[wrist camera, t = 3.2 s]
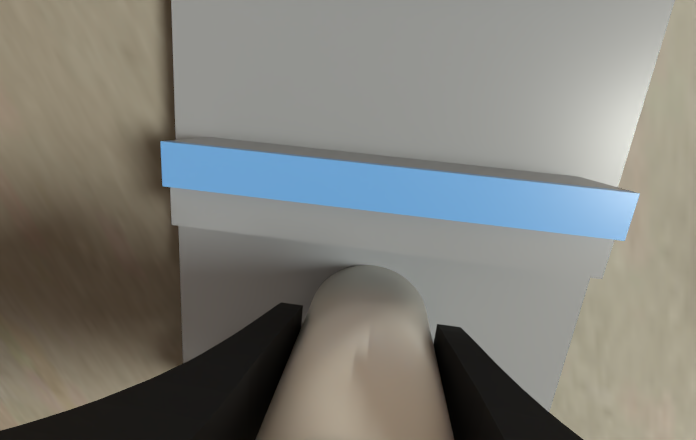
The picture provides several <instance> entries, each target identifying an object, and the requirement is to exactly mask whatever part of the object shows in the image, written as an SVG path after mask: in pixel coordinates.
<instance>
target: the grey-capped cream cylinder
mask: <svg viewBox="0 0 696 440" xmlns="http://www.w3.org/2000/svg"><path fill="white" fill-rule="evenodd" d="M255 440H454V436H453V431H452V427H451V422H450V418H449V413H448V408H447V404H446V399H445V395H444V390H443V386H442V381H441V376H440V372H439V367H438V363H437V358H436V354H435V349H434V344H433V340H432V335H431V331H430V326H429V322H428V317H427V312H426V308H425V305H424V302H423V299H422V298H421V296H420V294H419V292H418V291H417V290H416V288H415V287H414V286H413V285H412V284H411V283H410V282H409V281H408V280H407V279H406V278H404V277H403V276H401V275H400V274H398V273H396V272H394V271H392V270H390V269H387V268H384V267H379V266H373V265H358V266H353V267H349V268H345V269H343V270H340V271H338V272H336V273H335V274H333V275H331V276H330V277H329V278H328V279H326V280H325V281H324V282H323V283H322V284H321V286H320V287H319V288H318V290H317V291H316V293H315V295H314V297H313V300H312V302H311V305H310V307H309V309H308V312H307V314H306V317H305V319H304V322H303V324H302V327H301V329H300V332H299V334H298V336H297V339H296V341H295V344H294V346H293V349H292V351H291V354H290V356H289V358H288V361H287V363H286V366H285V368H284V371H283V373H282V376H281V378H280V381H279V383H278V385H277V388H276V390H275V393H274V395H273V398H272V400H271V403H270V405H269V408H268V410H267V412H266V415H265V417H264V420H263V422H262V425H261V427H260V430H259V432H258V434H257V437H256V439H255Z"/></svg>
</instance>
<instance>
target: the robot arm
mask: <svg viewBox="0 0 696 440" xmlns="http://www.w3.org/2000/svg"><path fill="white" fill-rule="evenodd" d="M302 311H303V305H297V304H290V303H282V302H281V303H279V304H278V305H276V306H275V307H273V308H272V309H271V310H269V311H268V312H266V313H265V314H263V315H262V316H261V317H259V318H258V319H256V320H255V321H253V322H252V323H250V324H249V325H247V326H246V327H244V328H243V329H241V330H240V331H238V332H237V333H235V334H234V335H232V336H231V337H229V338H227V339H226V340H224V341H222V342H221V343H219V344H217V345H215V346H214V347H212V348H210V349H209V350H207V351H205V352H204V353H202V354H200V355H198V356H197V357H195V358H193V359H191V360H189V361H187V362H185V363H183V364H181V365H179V366H177V367H175V368H173V369H171V370H169V371H167V372H165V373H163V374H161V375H158V376H156V377H154V378H152V379H150V380H147V381H145V382H142V383H140V384H137V385H135V386H132V387H130V388H127V389H125V390H122V391H120V392H117V393H115V394H112V395H110V396H107V397H105V398H102V399H100V400H97V401H94V402H91V403H88V404H85V405H83V406H80V407H77V408H74V409H71V410H68V411H65V412H62V413H59V414H56V415H52V416H49V417H46V418H43V419H40V420H37V421H33V422H30V423H27V424H23V425H20V426H16V427H13V428H9V429H5V430H2V431H0V440H255V439H256V437H257V434H258V432H259V430H260V427H261V425H262V422H263V420H264V417H265V415H266V412H267V410H268V408H269V405H270V403H271V400H272V398H273V395H274V393H275V390H276V388H277V385H278V383H279V381H280V378H281V376H282V373H283V371H284V368H285V366H286V363H287V361H288V358H289V356H290V354H291V351H292V349H293V346H294V344H295V341H296V339H297V336H298V334H299V332H300V329H301V325H302ZM433 344H434V349H435V354H436V358H437V363H438V367H439V372H440V376H441V381H442V386H443V390H444V395H445V399H446V404H447V408H448V413H449V418H450V422H451V427H452V431H453V436H454V440H583V439H582V438H581V437H579V436H578V435H577V434H575V433H574V432H573V431H572V430H570V429H569V428H568V427H566V426H565V425H564V424H563V423H561V422H560V421H559V420H558V419H556V418H555V417H554V416H553V415H552V414H550V413H549V412H548V411H547V410H546V409H545V408H544V407H542V406H541V405H540V404H539V403H538V402H537V401H536V400H535V399H533V398H532V397H531V396H530V395H529V394H528V393H527V392H526V391H524V390H523V389H522V388H521V387H520V386H519V385H518V384H517V383H516V382H515V381H514V380H513V379H512V378H511V377H510V376H509V375H508V374H507V373H505V372H504V371H503V370H502V369H501V368H500V367H499V366H498V365H497V364H496V363H495V362H494V361H493V360H492V359H491V357H490V356H489V355H488V354H487V353H486V352H485V351H484V350H483V349H482V348H481V347H480V346H479V345H478V344H477V343H476V342H475V341H474V340H473V339H472V338H471V337H470V336H469V335H468V334H467V333H466V332H465V331H464V330H463V329H462V328H461V327H456V326H449V325H441V324H437V327H436V333H435V338H434V343H433Z"/></svg>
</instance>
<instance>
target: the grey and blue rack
mask: <svg viewBox="0 0 696 440" xmlns="http://www.w3.org/2000/svg"><path fill="white" fill-rule="evenodd" d="M674 2H675V0H171V9H172V40H173V71H174V101H175V132H176V140H169V141H160V143H161V165H162V186H164V187H170V196H171V222H172V225H177V226H179V254H180V285H181V316H182V346H183V363H185V362H187V361H189V360H191V359H193V358H195V357H197V356H198V355H200V354H202V353H204V352H205V351H207V350H209V349H210V348H212V347H214V346H215V345H217V344H219V343H221V342H222V341H224V340H226V339H227V338H229V337H231V336H232V335H234V334H235V333H237V332H238V331H240V330H241V329H243V328H244V327H246V326H247V325H249V324H250V323H252V322H253V321H255V320H256V319H258V318H259V317H261V316H262V315H263V314H265V313H266V312H268V311H269V310H271V309H272V308H273V307H275V306H276V305H278V304H279V303H281V302H282V303H290V304H297V305H303V311H302V324H303V322H304V319H305V317H306V314H307V312H308V309H309V307H310V305H311V302H312V300H313V297H314V295H315V293H316V291H317V290H318V288H319V287H320V286H321V284H322V283H323V282H324V281H325V280H326V279H328V278H329V277H330V276H331V275H333V274H335V273H336V272H338V271H340V270H343V269H345V268H349V267H353V266H358V265H373V266H379V267H384V268H387V269H390V270H392V271H394V272H396V273H398V274H400V275H401V276H403V277H404V278H406V279H407V280H408V281H409V282H410V283H411V284H412V285H413V286H414V287H415V288H416V290H417V291H418V292H419V294H420V296H421V298H422V299H423V302H424V305H425V308H426V312H427V317H428V322H429V326H430V331H431V335H432V340H433V343H434V338H435V333H436V327H437V324H441V325H449V326H456V327H461V328H462V329H463V330H464V331H465V332H466V333H467V334H468V335H469V336H470V337H471V338H472V339H473V340H474V341H475V342H476V343H477V344H478V345H479V346H480V347H481V348H482V349H483V350H484V351H485V352H486V353H487V354H488V355H489V356H490V357H491V359H492V360H493V361H494V362H495V363H496V364H497V365H498V366H499V367H500V368H501V369H502V370H503V371H504V372H505V373H507V374H508V375H509V376H510V377H511V378H512V379H513V380H514V381H515V382H516V383H517V384H518V385H519V386H520V387H521V388H522V389H523V390H524V391H526V392H527V393H528V394H529V395H530V396H531V397H532V398H533V399H535V400H536V401H537V402H538V403H539V404H540V405H541V406H542V407H544V408H545V409H546V410H547V411H548V412H549V411H550V408H551V405H552V401H553V398H554V395H555V392H556V388H557V385H558V382H559V378H560V375H561V372H562V369H563V365H564V362H565V359H566V355H567V352H568V349H569V346H570V342H571V339H572V336H573V333H574V329H575V326H576V323H577V319H578V316H579V313H580V310H581V306H582V303H583V300H584V297H585V293H586V290H587V287H588V283H589V280H590V278H598V279H602V278H603V275H604V272H605V269H606V266H607V262H608V259H609V256H610V253H611V250H612V247H613V243H614V240H621V241H625V238H626V235H627V232H628V229H629V226H630V223H631V220H632V217H633V214H634V211H635V207H636V204H637V201H638V198H639V195H640V193H636V192H632V191H629V190H625V189H622V188H618V185H619V182H620V179H621V175H622V172H623V169H624V166H625V162H626V159H627V156H628V152H629V149H630V146H631V143H632V139H633V136H634V133H635V130H636V126H637V123H638V120H639V116H640V113H641V110H642V107H643V103H644V100H645V97H646V94H647V90H648V87H649V84H650V80H651V77H652V74H653V71H654V67H655V64H656V61H657V58H658V54H659V51H660V48H661V44H662V41H663V38H664V35H665V31H666V28H667V25H668V22H669V18H670V15H671V12H672V8H673V5H674ZM301 327H302V325H301Z"/></svg>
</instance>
